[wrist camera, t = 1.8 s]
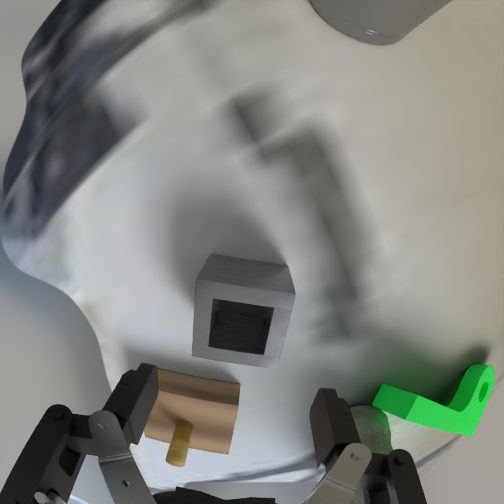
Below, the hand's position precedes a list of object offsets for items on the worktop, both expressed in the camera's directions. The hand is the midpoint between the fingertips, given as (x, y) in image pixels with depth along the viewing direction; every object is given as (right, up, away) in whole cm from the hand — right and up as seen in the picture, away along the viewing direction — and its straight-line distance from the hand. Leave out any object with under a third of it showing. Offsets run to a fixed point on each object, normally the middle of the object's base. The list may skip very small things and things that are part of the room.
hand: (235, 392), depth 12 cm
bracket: (+24, -9, +13) cm, 29 cm away
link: (0, +3, +10) cm, 10 cm away
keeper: (-6, -10, +14) cm, 19 cm away
